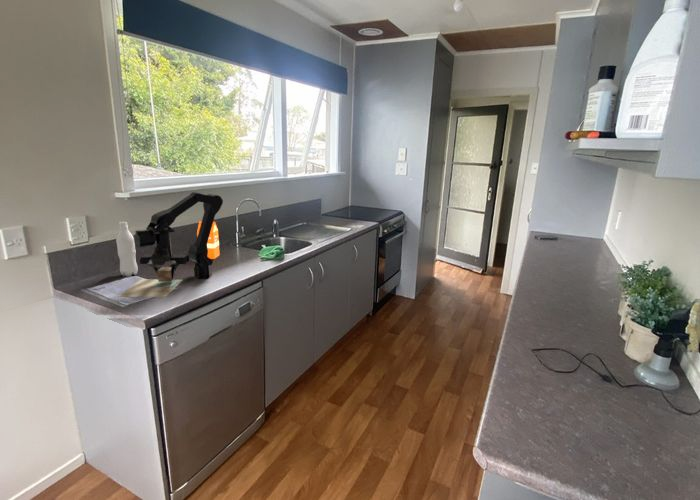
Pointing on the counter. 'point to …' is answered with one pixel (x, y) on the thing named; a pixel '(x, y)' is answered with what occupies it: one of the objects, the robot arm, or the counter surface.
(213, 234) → the orange juice
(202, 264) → the robot arm
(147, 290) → the birch board
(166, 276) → the walnut block
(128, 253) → the water bottle
